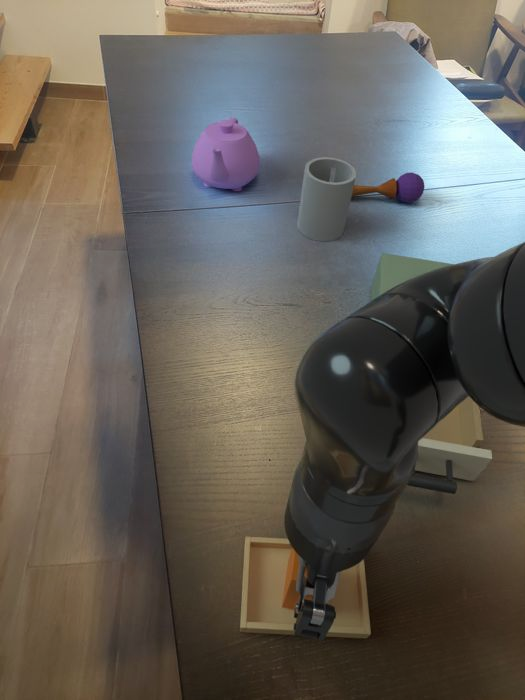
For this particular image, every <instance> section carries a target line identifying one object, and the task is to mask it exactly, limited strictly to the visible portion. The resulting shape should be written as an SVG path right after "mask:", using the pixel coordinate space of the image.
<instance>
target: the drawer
mask: <svg viewBox="0 0 525 700" xmlns="http://www.w3.org/2000/svg"><path fill="white" fill-rule="evenodd" d="M481 419H482V418H481V411H480V407H479V406H478V405H477V404H476V403H475V402H474V401H473V400H472V399H471V398H470V397H467V398H466V399H465V400H464V401H462V402H461V403H460V404H459V405H458V406H457V407H456V408H455V409H453V410H452V411H451V412H450V413H449V414H448V415H447V416H446V417H445V418H444V419H443V420H441V421H440V422H439V423H438V424H437V425H436V426H435V427H434V428H433V429H431V430H430V431H429V432H428V433H427V434H426V435H425V436H424V437H423V438H422V439H420V440H419V441H418V457H417V461H416V466H415V469H414V471H413V474H412V476H411V478H410V480H409V482H408V483H407V485H406V486H409V487H413V488H419V489H425V490H429V491H436V492H440V493H446V494H450V495H451V494H452V495H455V494H456V493H457V489H458V485H457V482H456V481H454V478H456V479H460V480H466V481H471V482H475V481H476V480H477V478H478V477H479V476H480V475H481V474H482V472H483V471H485V469H486V467H488V465H489V464H490V463H491V461H492V460H493V453H492V450H490V449H485V448H480V446H482V445H481V444H483V442H484V433H483V427H482V426H483V425H482V420H481ZM416 472H423V473H426V474H427V473H428V474H431V475H432V474H433V475H439V476H444V477H446V479H442V478H436V477H432V476H431V477H430V476H425V475H421V474H416Z"/></svg>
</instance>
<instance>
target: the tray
mask: <svg viewBox="0 0 525 700" xmlns="http://www.w3.org/2000/svg"><path fill="white" fill-rule="evenodd" d="M291 549H292V546H291V544H290V542H289V540H288V538H282V537H281V538H279V537H263V536H262V537H260V536H245V537H244V548H243V567H242V584H241V585H242V586H241V601H240V603H241V604H240V605H241V606H240V607H241V608H240V622H239V623H240V624H239V633H247V634H249V633H250V634H267V635H288V636H289V635H290V636H296V635H295V634H294V633H295V630H293V628H294V623H296V619H297V618H294V611H295V610H293V609H288V608H283V607H282V601H283V594H284V587H285V579H286V572H287V565H288V559H289V556H290V552H291ZM365 568H366V567H365V558H364V559H363V560H362V561H361V562H360V563H358V564H357V565H355V566H353V567H351V568H349V569H346V570H343V571H341V572H340V575H339V580H338V584H337V589H336V594H335V597H334V598H333V599H331V600H329V601H328V603H327V604H331V605H332V606H334V607H335V612H336V618H335V619H334V622H333V624H332V626H331V628H330V629H329V631H328V633H327V635H326V636H325V638H326V637H328V638H344V639H345V638H347V639H348V638H349V639H368V638H369V637H370V636H371V634H372V631H371V622H370V621H371V620H370V611H369V610H370V609H369V599H368V589H367V579H366V569H365Z"/></svg>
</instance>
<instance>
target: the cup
mask: <svg viewBox="0 0 525 700" xmlns="http://www.w3.org/2000/svg"><path fill="white" fill-rule="evenodd" d="M332 169H335V174H334V179H333V182H332V181H330V179H331V173H332ZM356 178H357V170H356V169H355V167H354V166H353V165H352V164H350V163H349V162H347V161H345V160H343V159H340V158H335V157H328V156H327V157H326V156H323V157H315V158H313V159H311V160H309V161H308V162H307V163H306V164H305V166H304V171H303V178H302V186H301V195H300V201H299V208H298V216H297V223H296V226H297V227H296V228H297V230H298V231H299V233H300V234H301V235H303V236H304V237H306V238H307V239H309V240H313V241H315V242H332V241H336V240H337V239H340V238H341V237H342V235H343V234H344V232H345V228H346V222H347V219H348V214H349V210H350V205H351V201H352V197H353V196H352V192H353V188H354V185H355V183H356Z"/></svg>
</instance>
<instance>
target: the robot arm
mask: <svg viewBox="0 0 525 700" xmlns="http://www.w3.org/2000/svg"><path fill="white" fill-rule="evenodd" d="M453 264H454V265H450V266H446V267H442V268H439V269H436V270H433V271H430V272H427V273H424V274H422V275H419V276H417V277H414V278H412V279H410V280H407V281H405V282H403V283H401V284H399V285H397V286H395V287H393V288H391V289H390V290H388V291H386V292H385V293H383V294H382V295H380V296H378V297H377V298H375V299H374V300H373V301H371V302H370V301H369V302H368V303H366V304H365V305H363V306H362V307H360V308H358V309H357V310H355V311H354V312H352V313H351V314H349V315H348V316H346V317H344V318H343V319H340V321H338V322H336V323H335V324H334V325H332V326H331V327H329V328H327V329H326V330H325V331H323V332H322V333H320V334H319V335H318V336H317V337H316V338H315V339H314V340H313V341H311V343H310V344H309V345H308V347H307V348H306V349H305V351H304V353H303V355H302V356H301V358H300V360H299V362H298V364H297V366H296V370H295V372H294V378H293V392H294V398H295V401H296V405H297V407H298V410H299V414H300V415H299V416H300V418H301V422H302V428H303V431H304V436H305V437H304V438H305V443H304V448H303V452H302V455H301V458H300V460H299V462H298V464H297V465H296V469H295V471H294V474H293V478H292V482H291V485H290V489H289V490H290V491H289V494H288V499H287V503H286V506H285V512H284V516H283V518H284V519H283V521H284V522H283V523H284V531H285V535H286V539H288V540H289V542H290V544H291V546H292V548H293V549H294V550H295V552H296V553H297V554H298V562H299V567H298V572H297V578H296V591H297V592H298V593H299V597H298V602H297V603H296V606H295V611H294V618H297V619H296V623H294V628H293V630H295V633H294V634H295V635H294V636H298V637H303V638H307V639H308V638H309V639H314V640H317V641H324V640H325V638H326V635H327V633H328V631H329V629H330V628H331V626H332V624H333V622H334V619H335V618H336V612H335V607H334V606H332V605H331V604H327V603H328V601H329V600H331V599H333V598H334V597H335V594H336V589H337V584H338V580H339V575H340V572H341V571H343V570H346V569H349V568H351V567H353V566H355V565H357V564H358V563H360V562H361V561H362V560H363V559H364V560H365V559H366V557H367V556H368V555H369V553H370V552H371V551H372V549H373V547H374V546H375V544H376V542H377V541H378V539H379V537H380V536H381V535H382V533H383V531H384V529H385V528H386V527H387V525H388V523H389V521H390V519H391V517H392V516H393V514H394V510H395V508H396V504H397V502H398V500H399V498H400V496H401V495H402V493H404V491H405V489H406V487H407V486H408V485H407V483H408V482H409V480H410V478H411V476H412V474H413V471H414V469H415V466H416V461H417V457H418V441H419V440H420V439H422V438H423V437H424V436H425V435H426V434H427V433H428V432H429V431H430V430H431V429H433V428H434V427H435V426H436V425H437V424H438V423H439V422H440V421H441V420H443V419H444V418H445V417H446V416H447V415H448V414H449V413H450V412H451V411H452V410H453V409H455V408H456V407H457V406H458V405H459V404H460V403H461V402H462V401H464V400H465V399H466V398H467V397H470V398H471V399H472V400H473V401H474V402H475V403H476V404H477V405H478V406H479V409H481V410H482V411H484V412H485V413H487V414H488V415H489V416H491V417H494V418H495V419H497V420H499V421H502V422H503V423H507V424H510V425H514V426H516V427H517V426H518V427H523V428H525V241H523V242H521V243H519V244H517V245H515V246H512V247H510V248H508V249H506V250H504V251H502V252H500V253H498V254H496V255H495V256H488V257H481V258H477V259H472V260H467V261H463V262H459V263H453ZM305 569H306V571H307V578H306V577H305V576H304V574H305ZM307 595H312V600H306V599H305V597H306V596H307Z"/></svg>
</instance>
